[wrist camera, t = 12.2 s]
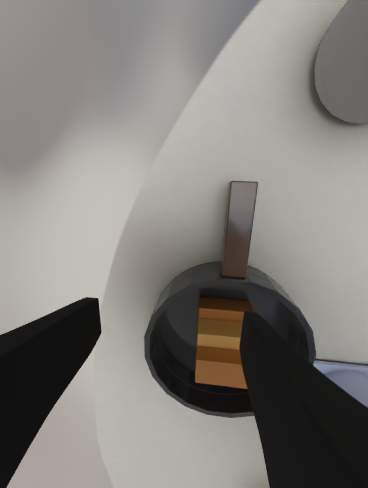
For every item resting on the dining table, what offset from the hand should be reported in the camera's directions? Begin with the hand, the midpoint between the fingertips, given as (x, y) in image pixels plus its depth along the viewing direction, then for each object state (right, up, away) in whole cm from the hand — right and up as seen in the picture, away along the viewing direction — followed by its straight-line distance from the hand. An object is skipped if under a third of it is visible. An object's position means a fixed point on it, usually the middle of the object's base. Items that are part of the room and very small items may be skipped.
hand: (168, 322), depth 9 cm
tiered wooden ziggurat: (+5, -5, +10) cm, 12 cm away
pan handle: (+5, +5, +5) cm, 9 cm away
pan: (+5, -5, +11) cm, 12 cm away
